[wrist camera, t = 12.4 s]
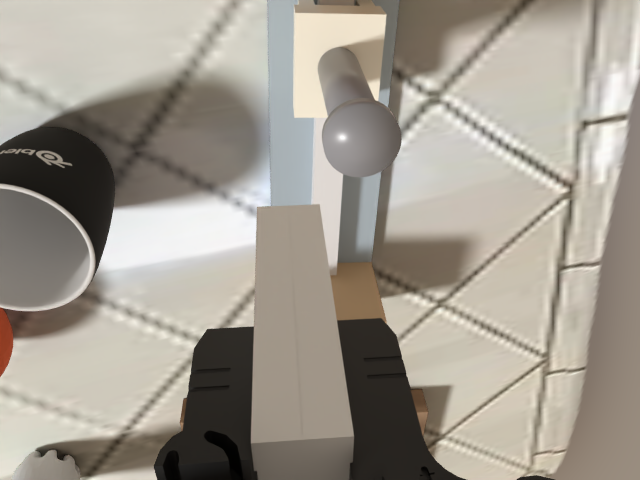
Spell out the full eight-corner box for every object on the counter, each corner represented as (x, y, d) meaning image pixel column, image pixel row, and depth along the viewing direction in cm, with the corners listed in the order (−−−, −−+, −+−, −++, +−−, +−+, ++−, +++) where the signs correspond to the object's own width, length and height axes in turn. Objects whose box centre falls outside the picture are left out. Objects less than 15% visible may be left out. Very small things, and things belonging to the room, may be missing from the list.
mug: (116, 106, 38) (75, 180, 30) (140, 219, 43) (110, 309, 35) (-71, 111, 37) (-168, 187, 29) (-24, 225, 42) (-95, 318, 34)
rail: (264, -148, 31) (264, -145, 23) (410, -142, 31) (454, -137, 24) (272, 303, 49) (273, 382, 42) (364, 301, 50) (381, 378, 42)
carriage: (292, -2, 34) (306, 73, 23) (375, 0, 34) (429, 74, 23) (292, 96, 37) (303, 202, 26) (367, 96, 38) (410, 201, 26)
